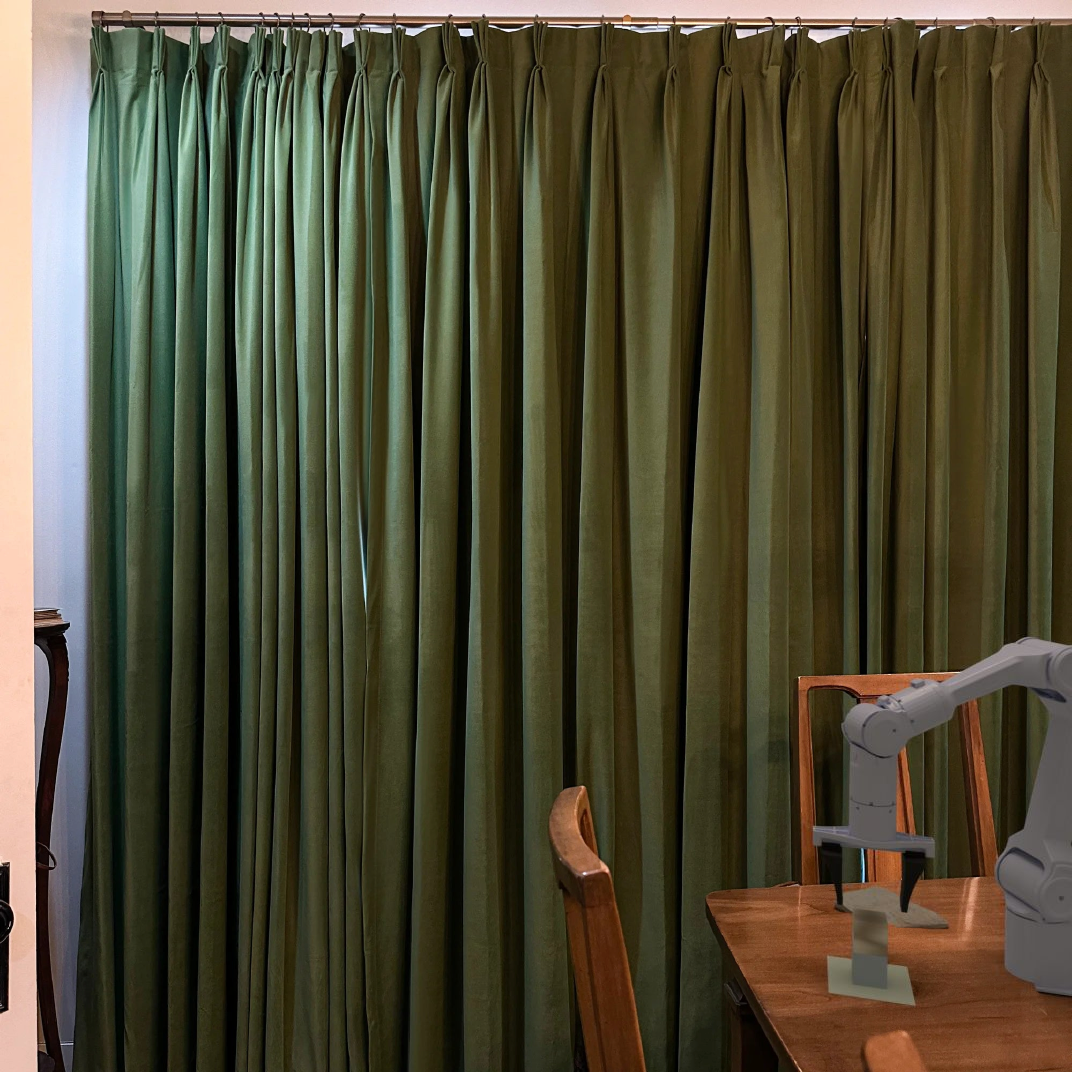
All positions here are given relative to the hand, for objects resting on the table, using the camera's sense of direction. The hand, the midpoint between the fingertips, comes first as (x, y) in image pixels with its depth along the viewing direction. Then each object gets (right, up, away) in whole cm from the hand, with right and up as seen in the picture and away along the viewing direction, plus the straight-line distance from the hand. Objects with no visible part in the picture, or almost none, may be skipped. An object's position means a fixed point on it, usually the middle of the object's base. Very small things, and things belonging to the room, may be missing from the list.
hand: (871, 905), depth 116 cm
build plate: (0, -10, 0) cm, 10 cm away
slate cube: (0, -9, 0) cm, 9 cm away
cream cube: (0, -5, 0) cm, 5 cm away
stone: (+10, -11, +21) cm, 26 cm away
